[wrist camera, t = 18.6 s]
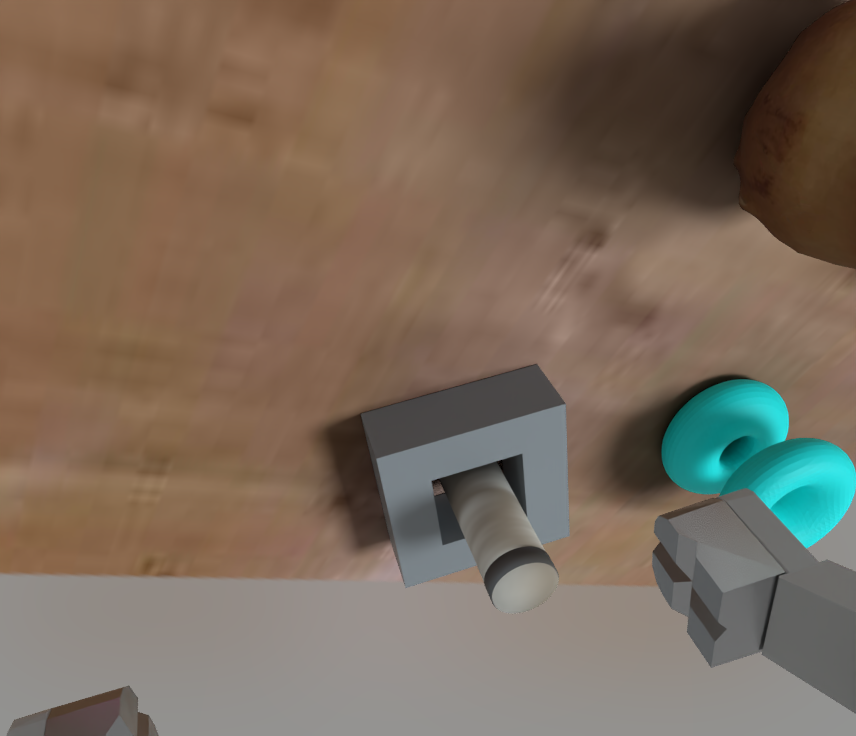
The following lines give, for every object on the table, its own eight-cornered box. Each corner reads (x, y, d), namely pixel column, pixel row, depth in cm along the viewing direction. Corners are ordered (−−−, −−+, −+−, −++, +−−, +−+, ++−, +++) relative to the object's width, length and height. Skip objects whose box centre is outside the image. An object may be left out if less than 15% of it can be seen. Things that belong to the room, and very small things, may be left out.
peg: (435, 485, 54) (494, 622, 44) (428, 441, 52) (488, 577, 42) (490, 468, 55) (560, 600, 45) (486, 425, 52) (558, 554, 43)
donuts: (863, 532, 54) (735, 590, 54) (773, 444, 62) (661, 494, 62) (870, 434, 48) (727, 499, 48) (770, 350, 56) (646, 406, 56)
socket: (390, 540, 56) (405, 588, 52) (360, 413, 49) (376, 458, 45) (544, 492, 57) (569, 535, 54) (537, 364, 50) (565, 403, 47)
